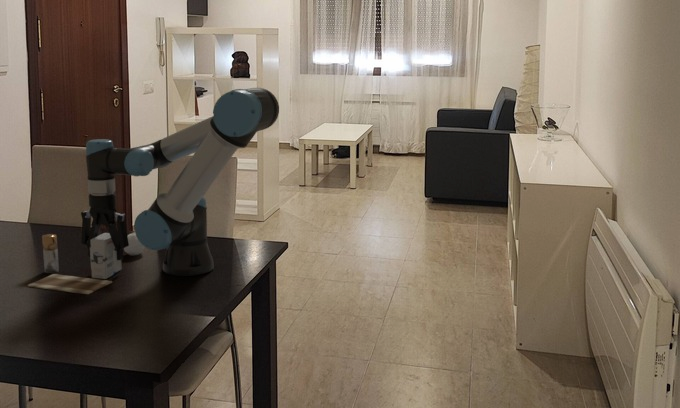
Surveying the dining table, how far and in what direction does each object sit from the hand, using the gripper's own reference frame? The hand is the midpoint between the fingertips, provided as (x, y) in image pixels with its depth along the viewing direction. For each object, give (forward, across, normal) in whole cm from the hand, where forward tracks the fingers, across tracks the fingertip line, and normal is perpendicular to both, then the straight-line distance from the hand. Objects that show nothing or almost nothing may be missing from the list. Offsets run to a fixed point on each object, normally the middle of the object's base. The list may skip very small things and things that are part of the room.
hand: (106, 268), depth 218 cm
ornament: (+2, +4, -21) cm, 21 cm away
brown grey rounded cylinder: (+2, +17, +3) cm, 17 cm away
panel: (+2, +4, +12) cm, 12 cm away
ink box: (+2, 0, 0) cm, 2 cm away
